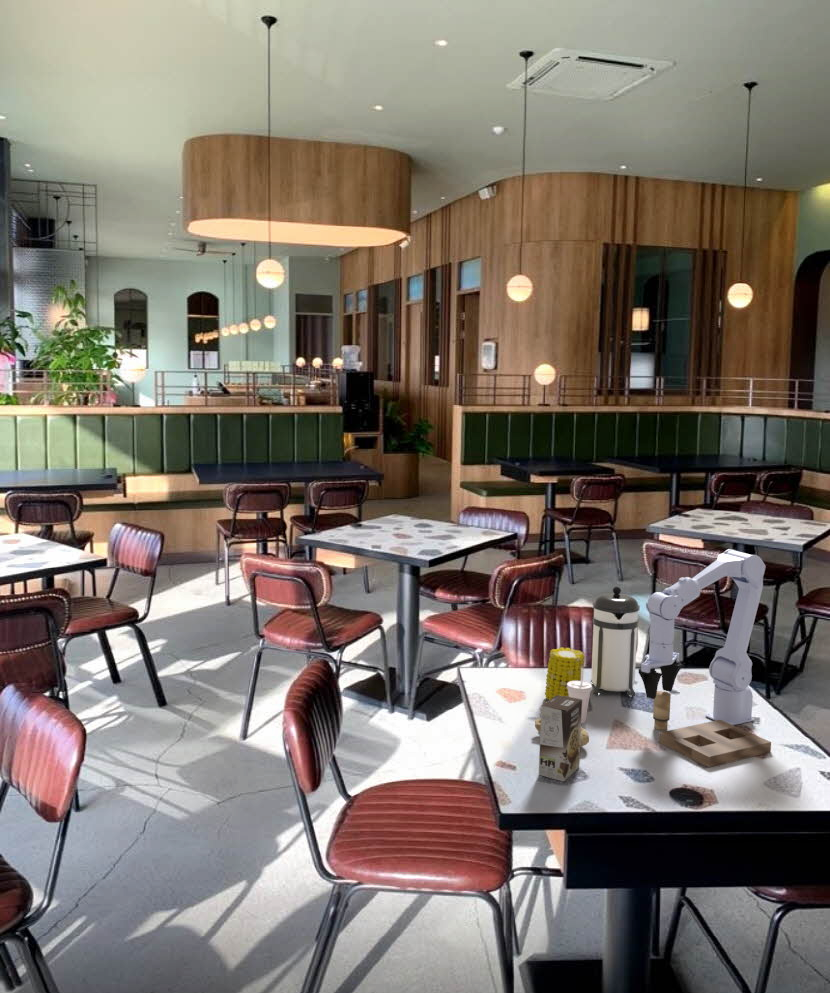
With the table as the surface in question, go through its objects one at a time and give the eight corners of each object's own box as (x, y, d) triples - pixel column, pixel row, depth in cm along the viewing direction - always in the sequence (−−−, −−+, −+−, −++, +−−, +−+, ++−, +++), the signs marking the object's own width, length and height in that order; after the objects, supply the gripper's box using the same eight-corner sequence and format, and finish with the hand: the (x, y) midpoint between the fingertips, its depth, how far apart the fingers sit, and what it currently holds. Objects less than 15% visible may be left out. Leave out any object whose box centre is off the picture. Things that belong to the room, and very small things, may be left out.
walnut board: (719, 729, 230) (719, 719, 230) (770, 752, 216) (771, 742, 216) (659, 742, 221) (659, 732, 220) (708, 767, 207) (709, 756, 206)
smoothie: (590, 726, 230) (592, 672, 229) (564, 724, 232) (566, 670, 230) (590, 717, 237) (592, 665, 235) (565, 715, 238) (567, 663, 236)
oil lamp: (536, 731, 227) (537, 712, 226) (594, 740, 222) (594, 720, 221) (525, 747, 217) (526, 726, 216) (586, 756, 212) (586, 736, 211)
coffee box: (564, 782, 198) (567, 710, 196) (537, 775, 201) (539, 704, 199) (580, 767, 205) (583, 698, 203) (554, 761, 209) (556, 693, 207)
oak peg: (661, 724, 233) (662, 690, 232) (672, 729, 229) (674, 695, 228) (649, 726, 231) (650, 692, 230) (660, 732, 227) (662, 697, 226)
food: (561, 697, 256) (585, 710, 248) (530, 695, 250) (554, 708, 241) (574, 645, 255) (599, 656, 247) (543, 641, 249) (568, 652, 241)
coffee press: (653, 692, 257) (658, 588, 253) (613, 703, 248) (618, 595, 244) (608, 675, 271) (612, 576, 267) (568, 685, 262) (572, 582, 258)
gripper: (662, 632, 234) (660, 683, 235) (631, 643, 223) (629, 696, 225) (687, 638, 228) (685, 690, 230) (656, 649, 218) (654, 704, 220)
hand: (659, 694), depth 227 cm, fingers open, 7 cm apart
